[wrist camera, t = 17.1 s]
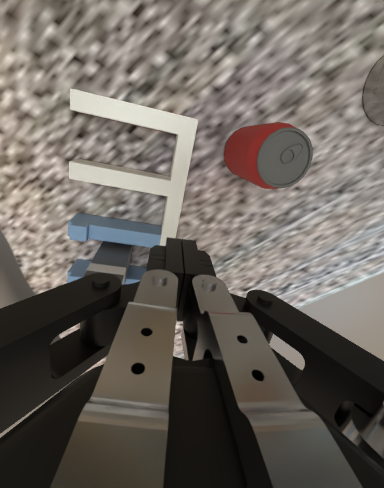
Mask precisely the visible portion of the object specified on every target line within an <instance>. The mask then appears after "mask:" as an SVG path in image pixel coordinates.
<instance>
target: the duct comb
mask: <svg viewBox="0 0 384 488" xmlns="http://www.w3.org/2000/svg"><path fill="white" fill-rule="evenodd" d="M70 110H74V111H77V112H80V113H84V114H88V115H93V116H97V117H101V118H106V119H110V120H115V121H119V122H123V123H128V124H132V125H137V126H141V127H145V128H150V129H154V130H158V131H163V132H167V133H172V134H176V141H175V147H174V153H173V159H172V165H171V171H170V176H165V175H160V174H155V173H150V172H145V171H139V170H134V169H129V168H124V167H119V166H114V165H109V164H104V163H98V162H93V161H88V160H83V159H77V160H73V161H70V162H69V179H74V180H79V181H85V182H90V183H96V184H101V185H107V186H113V187H118V188H124V189H129V190H135V191H140V192H146V193H151V194H157V195H163V196H166V201H165V207H164V213H163V219H162V225H161V226H159V225H152V224H146V223H139V222H133V221H127V220H120V219H114V218H108V217H101V216H95V215H88V214H82V213H78V214H76V215H75V216H74V217H73V218H72V219H71V220H70V221H69V222H68V236H70V239H71V240H78V241H85V242H86V241H87V240H88V239H94V240H101V241H108V242H116V243H123V244H130V245H137V246H144V247H153V246H155V245H160V246H165V245H166V239H167V237H170V238H176V233H177V228H178V222H179V217H180V212H181V207H182V202H183V196H184V191H185V186H186V181H187V176H188V171H189V165H190V160H191V155H192V150H193V145H194V140H195V134H196V129H197V124H198V119H194V118H190V117H186V116H181V115H177V114H173V113H169V112H165V111H161V110H157V109H153V108H149V107H145V106H140V105H136V104H132V103H128V102H124V101H120V100H116V99H112V98H108V97H104V96H99V95H95V94H91V93H87V92H83V91H79V90H75V89H71V88H70ZM91 262H92V261H89V260H81V259H77V260H76V261H75V262H74V264H73V265H72V267H71V268H70V269H69V271H68V283H69V282H72V281H74V280H77V279H79V278H82V277H84V274H85V273H86V270H87V268H88V266H89V264H90V263H91ZM146 270H147V268H146V267H138V266H129V270H128V274H127V278H126V282H125V284H132V283H136V282H139V281H141V279H142V276H143V274H144V273H145V272H146Z"/></svg>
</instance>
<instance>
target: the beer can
mask: <svg viewBox="0 0 384 488" xmlns="http://www.w3.org/2000/svg"><path fill="white" fill-rule="evenodd" d="M224 156H225V162H226V164H227V166H228V168H229V169H230V170H231V172H232V173H234V174H236V175H238V176H240V177H242V178H244V179H246V180H248V181H250V182H252V183H254V184H256V185H258V186H260V187H262V188H266V189H278V188H285V187H289V186H292V185H293V184H295V183H297V182H298V181H299V180H301V179H302V178H303V177H304V176H305V174H306V172H307V171H308V169H309V167H310V164H311V161H312V157H313V148H312V145H311V142H310V139H309V138H308V136H307V135H306V134H305V133H304V132H303V131H301V130H299V129H298V128H295V127H294V126H292V125H290V124H287V123H280V122H277V123H270V124H262V125H255V126H248V127H243V128H240V129H239V130H237V131H235V132H234V133H233V134H232V135H231V137H230V138H229V139H228V141H227V144H226V146H225V152H224Z"/></svg>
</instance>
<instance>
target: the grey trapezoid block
mask: <svg viewBox="0 0 384 488" xmlns="http://www.w3.org/2000/svg"><path fill="white" fill-rule="evenodd" d="M132 249H133V245H130V244H123V243H116V242H108V241H103V243H102V244H101V246H100V248H99V250H98V252H97V253H96V255H95V257H94V259H93V260H92V262H91V263H90V264H89V266H88V268H87V270H86V273H85V274H84V277H85V276H87V275H90V274H94V273H109V274H112V275H115V276H117V277H118V278H119V279H120V280H121V285H124V284H125V282H126V278H127V274H128V270H129V266H130V262H131V256H132Z"/></svg>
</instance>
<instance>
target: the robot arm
mask: <svg viewBox="0 0 384 488" xmlns="http://www.w3.org/2000/svg"><path fill="white" fill-rule="evenodd" d="M363 104H364V109H365V112H366V114H367V116H368V117H369V118H370V119H371V121H373V122H374V123H376V124H379V125H384V56H383V57H382V58H381V59H380V60H379V61H378V62H377V63H376V64H375V66H374V67H373V69H372V70H371V72H370V74H369V76H368V78H367V81H366V84H365V87H364V94H363ZM176 315H177V321H183V329H182V334H181V337H182V344H183V351H184V358H185V359H181V358H178V357H174V356H173V348H174V337H175V325H176ZM79 323H80V329H78V330H76V331H74V332H72V333H71V334H69V335H67V336H65V337H64V338H62V339H60V340H58V341H56V342H55V343H53V344H51V342H52V341H53V339H54V338H55V337H56V336H57V335H59V334H60V333H62V332H64V331H66V330H67V329H69V328H71V327H73V326H75V325H77V324H79ZM273 334H275V335H276V336H277V337H279V338H280V339H282V340H283V341H285V342H286V343H287V344H289V345H290V346H291V347H293V348H294V349H296V350H297V351H298V352H299V353H301V355H302V356H303V358H304V360H305V367H304V369H303V370H300V369H299V368H297V367H296V366H294V365H293V364H292V363H290V362H289V361H288V360H286V359H285V358H284V357H283V356H281V355H280V354H279V353H277V352H276V351H275V350H274V349H272V348H271V347H270V345H269V343H270V340H271V338H272V335H273ZM50 344H51V345H50ZM107 355H108V356H107ZM106 356H107V358H106V361H105V364H103V365H101V366H98V367H96V368H94V369H92V370H90V371H88V372H86V373H84V372H85V371H86V370H88V369H89V368H91V367H92V366H93V365H95V364H96V363H97V362H99V361H100V360H101V359H103V358H104V357H106ZM82 373H84V374H83V375H81V374H82ZM80 375H81V376H80ZM78 376H80V377H79V378H77V377H78ZM76 378H77V379H76ZM74 379H76V380H74ZM72 380H74V381H73V382H72V383H70V382H71V381H72ZM69 383H70V384H69ZM67 384H69V385H68V386H67V387H65V386H66V385H67ZM63 387H65V388H64V389H63V390H61V391H60V392H59V393H58V394H56V395H55V396H54V397H52V398H51V399H50V400H48V401H47V402H46V403H45V404H43V405H42V406H41V407H40V408H38V409H37V410H36V411H34V412H33V413H32V414H31V415H29V416H28V417H27V418H26V419H24V420H23V421H22V422H20V423H19V424H18V425H16V426H15V427H14V428H13V429H11V430H10V431H9V432H7V433H6V434H5V435H4V436H2V437H1V438H0V488H384V361H383V360H381V359H379V358H377V357H376V356H374V355H372V354H371V353H369V352H368V351H366V350H364V349H363V348H361V347H359V346H358V345H356V344H354V343H353V342H351V341H349V340H348V339H346V338H344V337H342V336H341V335H339V334H338V333H336V332H334V331H333V330H331V329H329V328H328V327H326V326H324V325H323V324H321V323H319V322H318V321H316V320H314V319H312V318H311V317H309V316H307V315H306V314H304V313H303V312H301V311H299V310H298V309H296V308H294V307H293V306H291V305H289V304H288V303H286V302H284V301H283V300H281V299H279V298H278V297H276V296H274V295H273V294H271V293H269V292H266V291H262V290H251V291H249V292H248V293H247V296H246V298H243V297H240V296H237V295H234V294H231V293H229V290H228V288H227V286H226V284H225V283H224V282H223V281H222V280H220V279H219V278H217V277H216V274H215V271H214V268H213V265H212V262H211V259H210V256H209V255H208V254H207V253H206V252H205V251H200V250H198V249H197V245H196V241H192V240H185V239H182V240H181V239H177V238H170V237H167V239H166V245H165V246H160V245H155V246H153V247H152V248H151V249H150V254H149V259H148V264H147V270H146V272H145V273H144V274H143V276H142V279H141V281H139V282H136V283H132V284H124V285H121V280H120V279H119V278H118V277H117V276H115V275H112V274H109V273H94V274H90V275H87V276H85V277H82V278H79V279H77V280H74V281H72V282H69V283H66V284H64V285H61V286H59V287H56V288H53V289H51V290H48V291H45V292H43V293H40V294H38V295H35V296H32V297H30V298H27V299H25V300H22V301H20V302H17V303H14V304H12V305H9V306H6V307H4V308H1V309H0V433H2V432H3V431H4V430H6V429H7V428H9V427H10V426H11V425H13V424H14V423H15V422H17V421H18V420H20V419H21V418H22V417H24V416H25V415H26V414H28V413H29V412H30V411H32V410H33V409H35V408H36V407H37V406H39V405H40V404H41V403H43V402H44V401H45V400H47V399H48V398H50V397H51V396H52V395H54V394H55V393H56V392H58V391H59V390H60V389H62V388H63Z"/></svg>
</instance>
